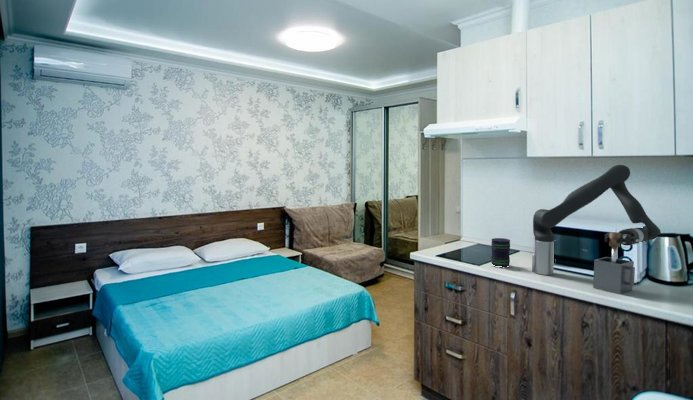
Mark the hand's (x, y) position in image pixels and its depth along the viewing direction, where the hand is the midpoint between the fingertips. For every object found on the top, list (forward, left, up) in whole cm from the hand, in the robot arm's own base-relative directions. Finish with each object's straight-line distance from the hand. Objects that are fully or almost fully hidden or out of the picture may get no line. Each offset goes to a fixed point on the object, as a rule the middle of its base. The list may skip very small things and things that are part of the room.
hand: (611, 240), depth 174 cm
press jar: (+1, +3, -23) cm, 23 cm away
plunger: (0, +3, -19) cm, 19 cm away
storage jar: (-55, -3, -23) cm, 60 cm away
